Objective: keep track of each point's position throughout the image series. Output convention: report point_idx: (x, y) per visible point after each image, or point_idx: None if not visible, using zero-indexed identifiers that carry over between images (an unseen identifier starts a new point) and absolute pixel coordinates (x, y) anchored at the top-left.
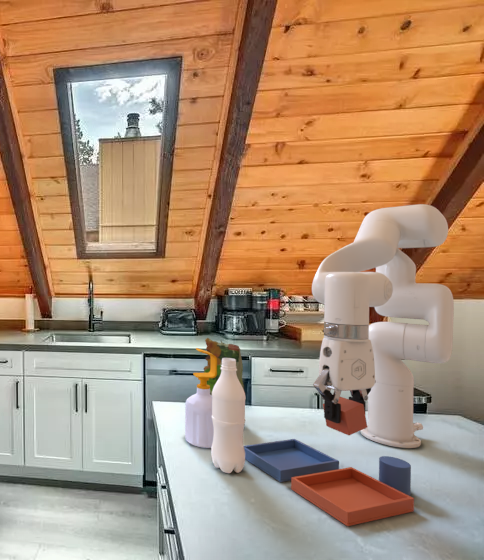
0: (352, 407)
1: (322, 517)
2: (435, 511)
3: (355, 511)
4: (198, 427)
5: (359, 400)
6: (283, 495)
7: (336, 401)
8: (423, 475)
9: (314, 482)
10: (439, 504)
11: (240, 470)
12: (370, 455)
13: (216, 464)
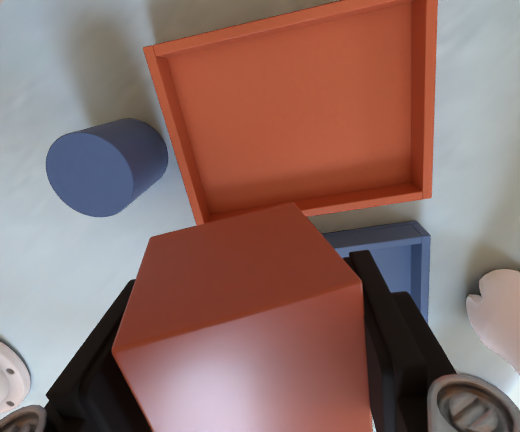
0: (246, 328)
1: (450, 44)
2: (95, 46)
3: None
4: None
5: (88, 419)
6: (464, 160)
7: (457, 402)
8: (3, 213)
9: (344, 194)
10: (58, 79)
11: (497, 271)
12: (74, 308)
13: None
